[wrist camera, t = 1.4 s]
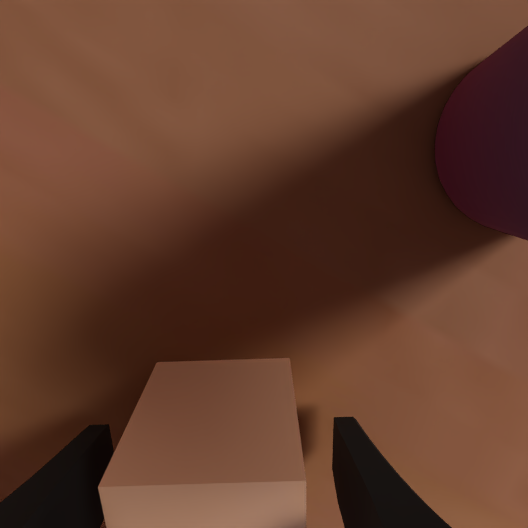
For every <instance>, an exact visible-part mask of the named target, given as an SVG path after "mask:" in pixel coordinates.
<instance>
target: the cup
mask: <svg viewBox="0 0 528 528" xmlns="http://www.w3.org/2000/svg"><path fill="white" fill-rule="evenodd" d="M435 162H436V167H437V171H438V175H439V179H440V181H441V183H442V185H443V188H444V190H445V192H446V194H447V195H448V197H449V198H450V199H451V201H452V202H453V203H454V204H455V206H456V207H457V208H458V209H459V210H460V211H462V212H463V213H464V214H465V215H466V216H468V217H469V218H470V219H472V220H474V221H476V222H478V223H480V224H481V225H483V226H486V227H489V228H492V229H495V230H498V231H501V232H504V233H507V234H510V235H513V236H516V237H519V238H522V239H525V240H528V26H527V27H526V28H524V29H523V30H522V31H521V32H519V33H518V34H517V35H515V36H514V37H513V38H512V39H510V40H509V41H508V42H507V43H505V44H504V45H503V46H501V47H500V48H499V49H498V50H496V51H495V52H494V53H493V54H491V55H490V56H489V57H487V58H486V59H485V60H484V61H482V62H481V63H480V64H479V65H478V66H476V67H475V68H474V69H473V70H472V71H470V72H469V73H468V74H467V75H466V76H465V78H464V79H463V80H462V81H461V82H460V83H459V85H458V86H457V87H456V88H455V89H454V91H453V93H452V95H451V96H450V98H449V100H448V101H447V103H446V105H445V107H444V109H443V112H442V115H441V118H440V120H439V123H438V127H437V133H436V139H435Z"/></svg>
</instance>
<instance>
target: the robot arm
mask: <svg viewBox="0 0 528 528" xmlns="http://www.w3.org/2000/svg"><path fill="white" fill-rule="evenodd" d="M113 454H114V450H113V445H112V440H111V434H110V429H109V424H107V425H89V426H88V427H87V428H86V429H85V430H83V431H82V432H81V433H80V434H79V435H78V436H77V437H76V438H74V439H73V440H72V441H71V442H70V443H69V444H68V445H67V446H66V447H65V448H64V449H62V450H61V451H60V452H59V453H58V454H57V455H56V456H55V457H54V458H52V459H51V460H50V461H49V462H48V463H47V464H46V465H45V466H43V467H42V468H41V469H40V470H39V471H38V472H37V473H36V474H34V475H33V476H32V477H31V478H30V479H28V480H27V481H26V482H25V483H24V484H22V485H21V486H20V487H19V488H18V489H16V490H15V491H14V492H13V493H12V494H10V495H9V496H8V497H7V498H5V499H4V500H3V501H2V502H1V503H0V528H100V526H101V524H102V522H103V519H104V514H103V509H102V504H101V499H100V494H99V490H98V486H99V484H100V482H101V480H102V477H103V475H104V473H105V471H106V469H107V467H108V465H109V463H110V460H111V458H112V456H113ZM332 470H333V476H334V482H335V488H336V494H337V499H338V504H339V508H340V512H341V515H342V519H343V523H344V526H345V528H451V527H450V526H449V525H448V524H447V523H446V522H445V521H444V520H443V519H441V518H440V517H439V516H438V515H437V514H436V513H435V512H434V511H433V510H432V509H431V508H430V507H429V506H428V505H427V504H426V503H425V502H424V501H423V500H422V499H421V498H420V497H419V496H418V495H417V494H416V493H415V492H414V491H413V490H412V489H411V488H410V486H409V485H408V484H407V483H406V482H405V481H404V480H403V479H402V478H401V477H400V475H399V474H398V473H397V472H396V471H395V470H394V468H393V467H392V466H391V465H390V464H389V463H388V461H387V460H386V459H385V458H384V457H383V455H382V454H381V453H380V452H379V450H378V449H377V448H376V446H375V445H374V444H373V443H372V441H371V440H370V439H369V437H368V436H367V435H366V433H365V432H364V430H363V429H362V428H361V426H360V425H359V423H358V422H357V420H356V419H355V418H354V417H334V428H333V462H332Z"/></svg>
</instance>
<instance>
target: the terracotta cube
mask: <svg viewBox="0 0 528 528" xmlns="http://www.w3.org/2000/svg"><path fill="white" fill-rule="evenodd" d="M98 490H99V494H100V499H101V504H102V509H103V514H104V519H105V523H106V528H306V475H305V468H304V460H303V453H302V446H301V438H300V431H299V423H298V416H297V408H296V401H295V393H294V386H293V379H292V371H291V364H290V358H272V359H240V360H208V361H176V362H157V363H156V365H155V367H154V369H153V371H152V373H151V376H150V378H149V380H148V382H147V384H146V386H145V388H144V390H143V393H142V395H141V397H140V399H139V401H138V403H137V405H136V407H135V409H134V412H133V414H132V416H131V418H130V420H129V422H128V424H127V426H126V429H125V431H124V433H123V435H122V437H121V439H120V441H119V443H118V446H117V448H116V450H115V452H114V454H113V456H112V458H111V460H110V463H109V465H108V467H107V469H106V471H105V473H104V475H103V477H102V480H101V482H100V484H99V486H98Z"/></svg>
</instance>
